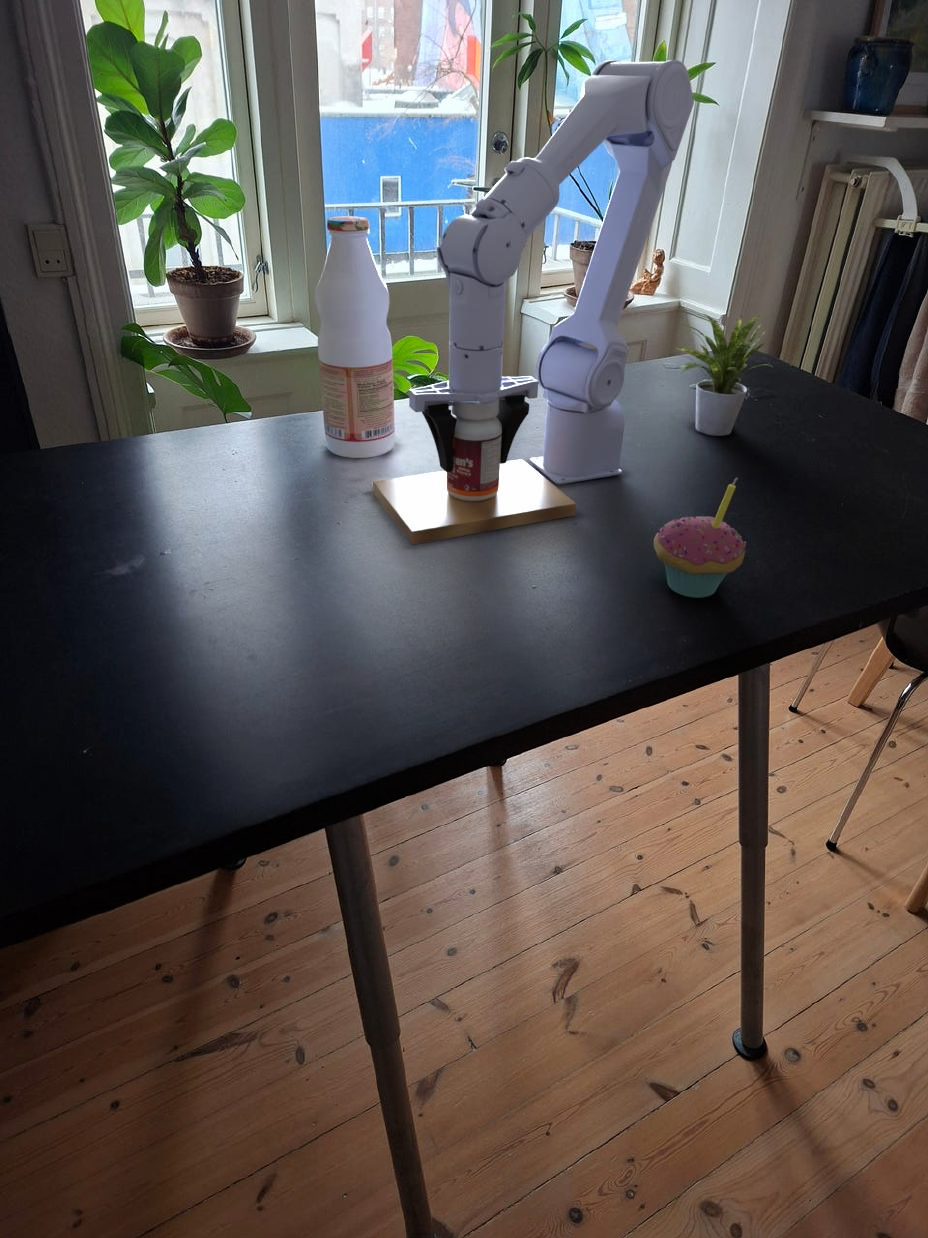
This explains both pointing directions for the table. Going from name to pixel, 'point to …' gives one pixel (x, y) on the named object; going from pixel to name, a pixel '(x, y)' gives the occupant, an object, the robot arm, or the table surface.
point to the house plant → (722, 377)
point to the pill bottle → (475, 451)
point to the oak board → (470, 504)
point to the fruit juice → (354, 345)
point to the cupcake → (699, 551)
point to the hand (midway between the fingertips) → (472, 464)
